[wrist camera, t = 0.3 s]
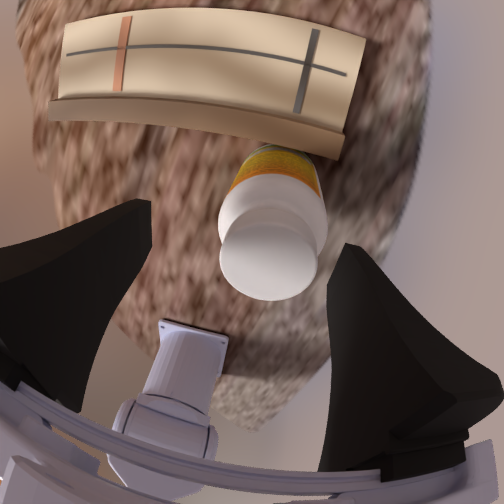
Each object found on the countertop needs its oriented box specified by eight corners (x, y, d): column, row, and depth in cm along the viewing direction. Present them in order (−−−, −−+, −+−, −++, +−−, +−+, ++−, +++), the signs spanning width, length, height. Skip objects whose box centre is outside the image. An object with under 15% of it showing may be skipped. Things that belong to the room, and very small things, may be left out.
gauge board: (332, 150, 17) (337, 160, 15) (67, 114, 17) (48, 121, 15) (361, 41, 13) (371, 36, 11) (75, 24, 12) (55, 24, 11)
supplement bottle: (227, 158, 19) (177, 231, 11) (301, 130, 17) (311, 184, 9) (258, 222, 21) (236, 321, 13) (327, 200, 19) (347, 297, 12)
